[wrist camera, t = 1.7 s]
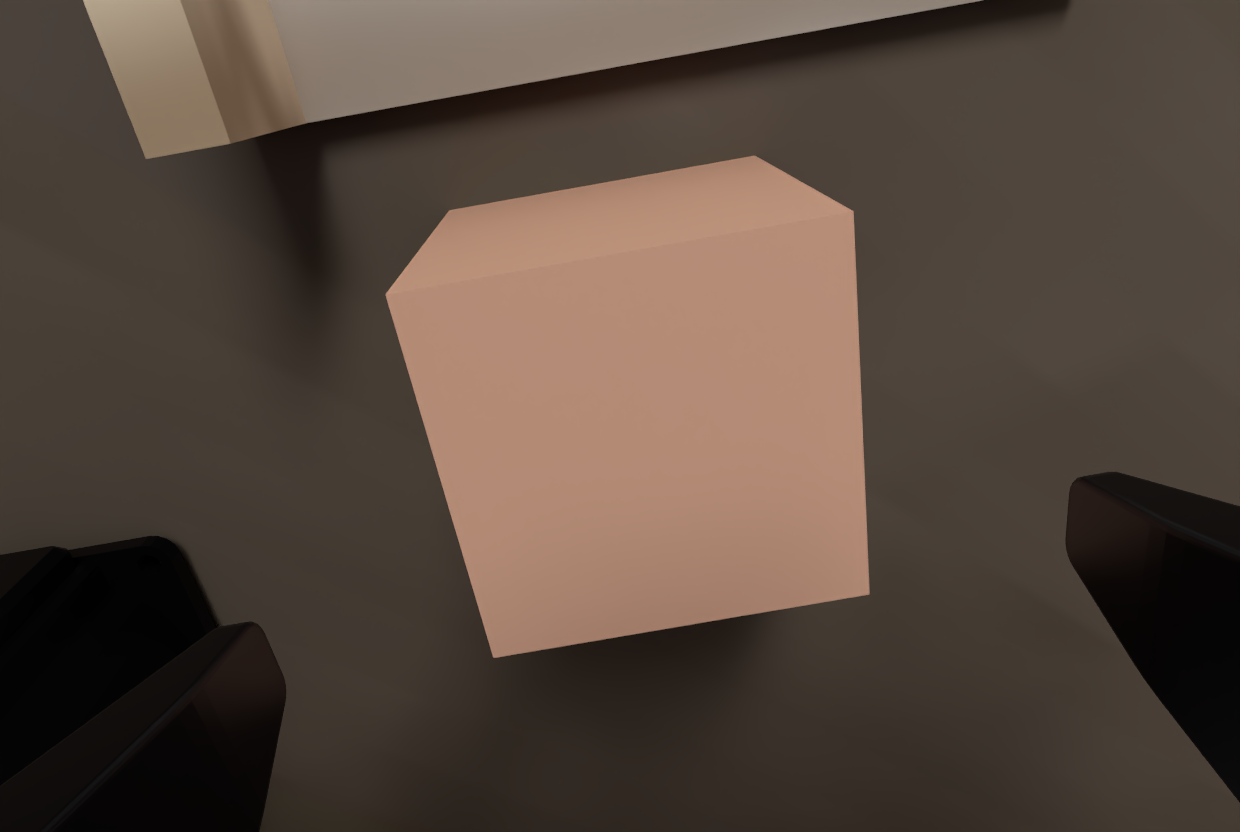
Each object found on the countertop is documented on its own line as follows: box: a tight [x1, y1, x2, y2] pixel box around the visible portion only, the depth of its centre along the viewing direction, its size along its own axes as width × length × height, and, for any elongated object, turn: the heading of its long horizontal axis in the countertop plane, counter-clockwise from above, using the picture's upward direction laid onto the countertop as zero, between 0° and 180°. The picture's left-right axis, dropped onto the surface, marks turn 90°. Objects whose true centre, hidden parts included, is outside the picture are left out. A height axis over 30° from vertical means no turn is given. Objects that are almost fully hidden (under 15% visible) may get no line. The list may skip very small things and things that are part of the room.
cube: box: [385, 156, 869, 658], centre depth 14 cm, size 6×6×6 cm
